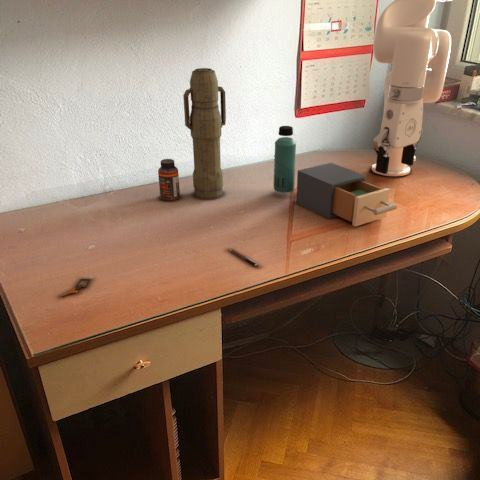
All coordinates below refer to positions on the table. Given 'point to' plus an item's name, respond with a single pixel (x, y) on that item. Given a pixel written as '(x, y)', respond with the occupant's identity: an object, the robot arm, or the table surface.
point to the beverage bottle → (284, 161)
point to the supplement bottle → (168, 180)
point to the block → (358, 192)
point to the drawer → (361, 202)
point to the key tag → (78, 286)
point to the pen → (244, 258)
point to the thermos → (205, 131)
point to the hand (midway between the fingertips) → (394, 168)
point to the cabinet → (322, 186)
